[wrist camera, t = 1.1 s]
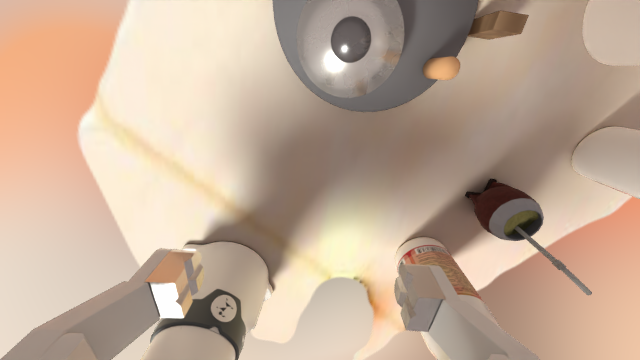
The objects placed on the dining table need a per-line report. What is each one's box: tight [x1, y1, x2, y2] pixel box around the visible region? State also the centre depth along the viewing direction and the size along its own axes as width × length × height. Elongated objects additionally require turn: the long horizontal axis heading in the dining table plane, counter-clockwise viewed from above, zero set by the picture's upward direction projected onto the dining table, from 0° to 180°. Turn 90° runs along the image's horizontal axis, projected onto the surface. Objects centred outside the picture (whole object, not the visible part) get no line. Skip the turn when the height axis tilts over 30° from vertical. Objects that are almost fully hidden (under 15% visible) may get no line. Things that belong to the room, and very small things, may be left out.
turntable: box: [273, 0, 478, 112], centre depth 24 cm, size 22×22×6 cm
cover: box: [296, 0, 404, 98], centre depth 25 cm, size 11×11×4 cm
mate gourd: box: [465, 179, 592, 295], centre depth 31 cm, size 7×8×15 cm
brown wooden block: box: [468, 11, 529, 39], centre depth 26 cm, size 3×2×5 cm, turn 83°
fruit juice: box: [395, 237, 499, 360], centre depth 31 cm, size 9×9×28 cm
